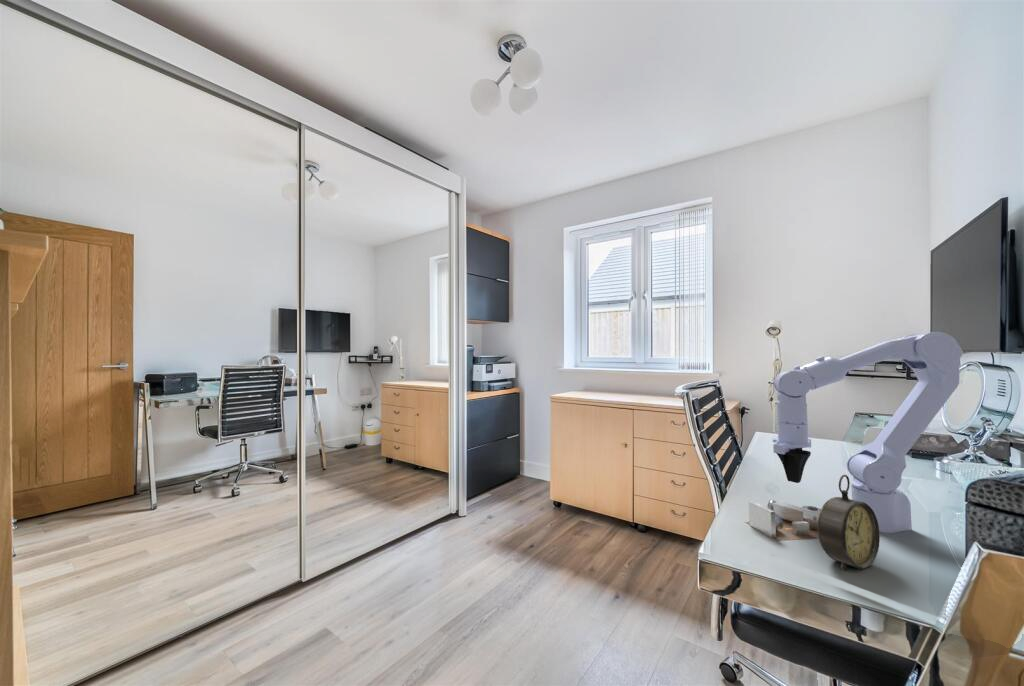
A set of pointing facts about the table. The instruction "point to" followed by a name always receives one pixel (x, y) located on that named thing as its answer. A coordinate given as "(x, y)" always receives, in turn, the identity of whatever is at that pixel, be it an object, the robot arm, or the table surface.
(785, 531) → the board
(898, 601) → the table surface
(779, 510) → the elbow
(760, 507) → the square plate with knob
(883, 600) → the table surface
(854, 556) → the alarm clock
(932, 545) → the table surface
